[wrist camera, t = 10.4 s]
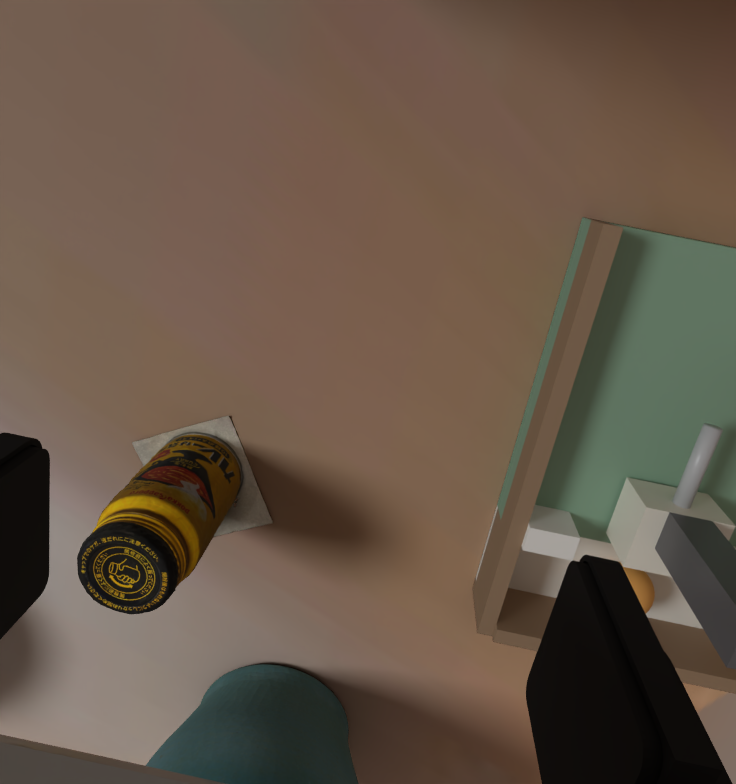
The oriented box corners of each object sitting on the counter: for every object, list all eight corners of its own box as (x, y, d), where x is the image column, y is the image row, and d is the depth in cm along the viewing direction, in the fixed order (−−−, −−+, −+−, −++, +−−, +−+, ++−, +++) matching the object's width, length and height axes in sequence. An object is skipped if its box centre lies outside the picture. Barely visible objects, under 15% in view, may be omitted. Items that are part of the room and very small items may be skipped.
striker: (654, 403, 36) (764, 517, 24) (739, 421, 36) (891, 543, 24) (605, 532, 39) (683, 688, 27) (684, 548, 39) (796, 713, 27)
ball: (582, 586, 43) (600, 545, 41) (633, 597, 43) (653, 556, 41) (594, 625, 40) (613, 582, 38) (649, 637, 40) (671, 595, 38)
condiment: (229, 414, 41) (155, 505, 30) (273, 521, 44) (220, 642, 33) (133, 441, 43) (28, 537, 31) (181, 543, 45) (100, 667, 34)
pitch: (582, 217, 35) (606, 224, 30) (899, 280, 35) (972, 297, 30) (472, 588, 44) (477, 638, 39) (722, 642, 44) (758, 698, 39)
